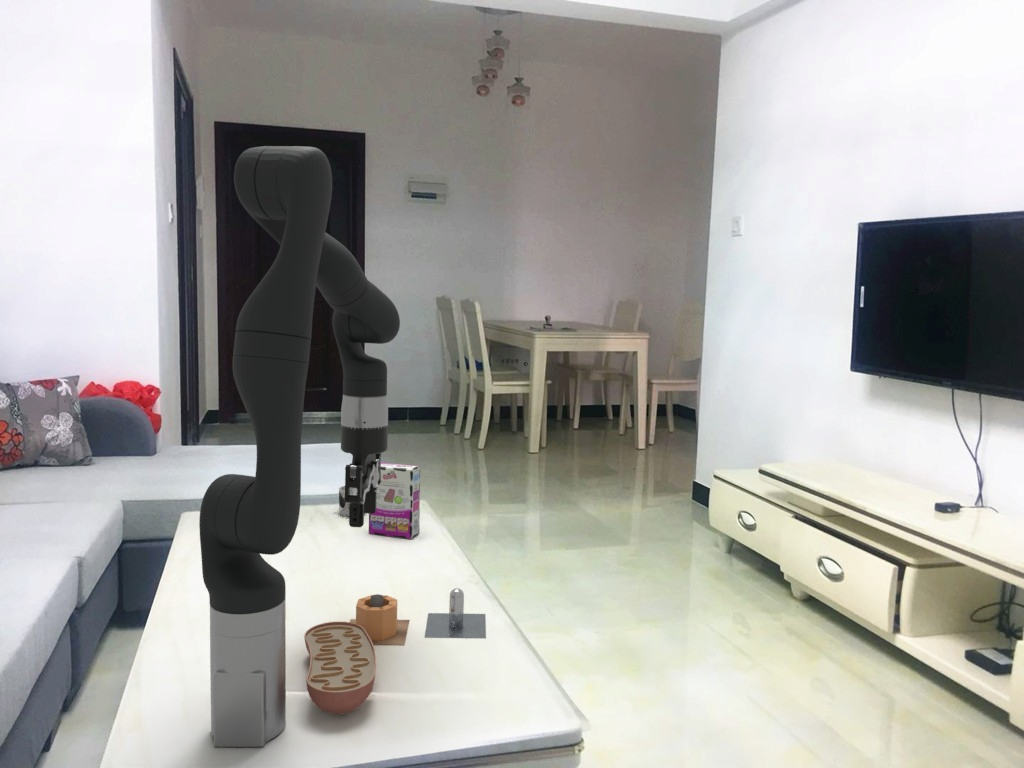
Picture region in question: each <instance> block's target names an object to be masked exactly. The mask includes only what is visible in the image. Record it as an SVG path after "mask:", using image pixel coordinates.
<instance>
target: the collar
mask: <svg viewBox="0 0 1024 768" xmlns="http://www.w3.org/2000/svg"><path fill="white" fill-rule="evenodd" d="M372 595H373V594H371V595H367V596H365V597H364V596H363V597H360V598H358V600H357V602H356V605H355V619H356V624H357V625H360V626H362V627H363V628H364V629H365V631H366V632H367V634H368V636H369V637H370V639H371V640H384V639H387V638H390V637H392V636H395V635H396V630H397V620H398V599H396V598H394V597H392V596H390V595H386V594H384V595H383V594H382V595H383V607H371V596H372Z"/></svg>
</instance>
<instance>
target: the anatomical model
mask: <svg viewBox="0 0 1024 768" xmlns="http://www.w3.org/2000/svg"><path fill="white" fill-rule="evenodd" d="M303 637H304V638H303V639H304V643H305V644H304V645H305V648H306V650H307V653H308V655H309V658H310V660H309V661H310V663H309V668H308V671H307V676H306V678H305V681H306V688H307V689H306V690H307V693H308V696H309V698H310V699H311V700H312V702H313V704H314V705H315V706H316V707H317V708H318V709H320V710H321V711H323V712H325V713H328V714H332V715H343V714H344V715H345V714H348V713H350V712H353V711H356V710H357V709H358V708H360V707H361V706H362V705H363V704H364V703H365V702H366V700H368V698H369V696H370V695H371V692H372V691H373V688H374V683H375V678H376V668H377V655H376V649H375V645H373V643H372V641H371V639H370V637H369V636H368V634H367V632H366V631H365V629H364V628H363V627H362V626H360V625H357V624H354V623H350V621H329V622H323V623H319V624H316V625H314V626H312V627H309V629H307V630H306V631H305V633H304V634H303Z"/></svg>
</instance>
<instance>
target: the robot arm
mask: <svg viewBox="0 0 1024 768" xmlns="http://www.w3.org/2000/svg"><path fill="white" fill-rule="evenodd" d="M234 165H235V166H234V172H233V184H234V189H235V192H236V196H237V197H238V200H239V202H240V204H241V205H242V206H243V208H244V209H245V211H246V212H247V213H248V214H249V216H251V218H253V220H254V221H255V222H256V223H257V224H258V225H259V226H261V227H262V228H263V230H265V231H266V232H267V233H268V235H270V236H271V237H272V238H273V239H274V241H276V242H277V243H278V244H279V245H280V246H279V251H278V253H277V255H276V257H275V259H274V260H273V263H272V265H271V266H270V268H269V269H268V270H267V272H266V273H265V274H264V276H263V278H262V279H261V280H260V281H259V282H258V284H257V285H256V287H255V288H254V290H253V291H252V292H251V294H250V295H249V297H248V298H247V300H246V301H245V303H244V304H243V306H242V308H241V310H240V311H239V313H238V316H237V320H236V326H235V333H234V342H233V343H234V344H233V345H234V346H233V351H232V352H233V354H232V355H233V356H232V365H231V366H232V375H233V379H234V382H235V386H236V388H237V391H238V394H239V397H240V399H241V401H242V403H243V406H244V409H245V410H246V412H247V415H248V417H249V420H250V423H251V425H252V428H253V432H254V436H255V442H256V467H255V476H251V475H245V474H235V473H231V474H230V473H228V474H223V475H221V476H219V477H217V478H216V479H214V480H213V481H212V482H211V483H210V484H209V486H208V487H207V488H206V491H205V493H204V495H203V498H202V500H201V505H200V510H199V527H198V528H199V541H200V543H199V544H200V555H201V556H200V557H201V569H202V579H203V583H204V585H205V588H206V590H207V592H208V596H209V654H210V655H209V658H210V659H209V660H210V663H209V665H210V666H209V667H210V676H209V677H210V680H209V681H210V734H211V737H212V739H213V746H214V747H239V748H241V747H256V748H258V747H259V748H260V747H264V746H265V745H266V744H267V742H268V741H271V740H272V739H274V738H276V737H277V736H278V735H279V734H281V733H282V732H283V731H284V729H285V727H286V723H287V722H286V721H287V720H286V718H287V717H286V716H287V715H286V713H287V712H286V711H287V709H286V705H287V701H286V699H287V697H286V696H287V694H286V691H287V689H286V686H287V684H286V681H287V680H286V674H287V673H286V671H287V670H286V665H287V663H286V649H287V648H286V617H287V615H286V610H287V609H286V608H287V606H286V604H287V603H286V580H285V577H284V575H283V574H282V573H281V572H280V571H279V570H278V569H276V568H275V567H274V566H272V565H271V564H269V562H267V561H266V560H265V559H264V557H262V555H271V556H273V555H278V554H280V553H282V552H283V551H284V550H286V549H287V547H288V546H289V545H290V543H291V542H292V540H293V538H294V537H295V533H296V530H297V527H298V524H299V518H300V512H301V497H302V496H301V491H302V489H301V487H302V483H301V482H302V480H301V479H302V432H303V431H302V430H303V418H304V417H303V416H304V406H305V405H304V403H305V394H306V383H307V377H308V370H309V365H310V355H311V344H312V343H311V342H312V330H313V315H314V309H315V308H314V307H315V297H316V289H318V291H319V292H320V294H321V295H322V297H323V298H324V300H325V302H326V303H327V304H328V305H329V306H330V308H332V309H333V314H332V321H331V322H332V323H331V324H332V329H333V334H334V337H335V341H336V344H337V349H338V353H339V357H340V361H341V362H340V363H341V365H342V372H343V373H342V376H343V377H342V401H341V409H340V410H341V411H340V413H341V415H340V420H341V421H340V450H341V451H342V452H343V453H346V454H351V456H352V460H351V463H349V464H346V465H345V468H344V470H345V473H344V474H345V475H344V476H345V477H344V486H345V498H344V500H345V503H348V504H349V517H348V518H349V519H348V521H349V522H348V526H349V527H351V528H362V527H363V526H364V525H365V515H364V513H366V514H368V515H369V514H374V513H375V512H376V495H377V492H376V491H377V490H378V488H379V486H378V485H380V483H381V463H382V461H381V460H382V459H381V458H382V454H383V453H384V452H386V451H387V450H388V442H389V441H388V439H389V437H388V435H389V433H388V432H389V431H388V430H389V405H388V395H387V394H388V366H387V364H386V362H385V361H384V360H382V359H380V358H378V357H377V358H376V357H374V356H370V355H368V354H367V353H365V351H364V349H363V346H362V344H373V345H374V344H378V345H379V344H380V345H382V344H387V343H390V342H392V341H393V340H394V339H395V337H397V336H398V333H399V331H400V328H401V327H400V326H401V322H400V321H401V320H400V318H401V317H400V314H399V312H398V309H397V307H396V306H395V304H394V302H393V301H392V300H391V299H390V298H389V297H388V295H386V294H385V293H384V292H383V291H382V290H381V289H379V288H378V287H377V286H376V285H375V284H374V283H373V282H371V281H370V280H369V279H368V278H367V276H366V275H365V271H363V269H362V268H361V266H360V264H359V262H358V260H357V259H356V257H355V256H354V255H353V254H352V252H351V251H350V250H349V249H348V248H347V247H346V246H345V245H343V244H342V243H341V242H340V241H338V240H337V239H336V238H335V237H333V236H332V235H330V234H329V233H327V231H326V230H327V226H328V221H329V214H330V209H331V202H332V193H333V174H332V168H331V164H330V161H329V159H328V157H327V155H326V153H324V151H322V150H321V149H320V148H317V147H313V146H301V145H294V146H292V145H291V146H289V145H284V146H283V145H278V146H277V145H275V146H274V145H264V146H255V147H250V148H247V149H246V150H243V151H242V153H240V155H239V156H238V158H237V161H236V163H235V164H234ZM355 491H357V495H354V492H355Z"/></svg>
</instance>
